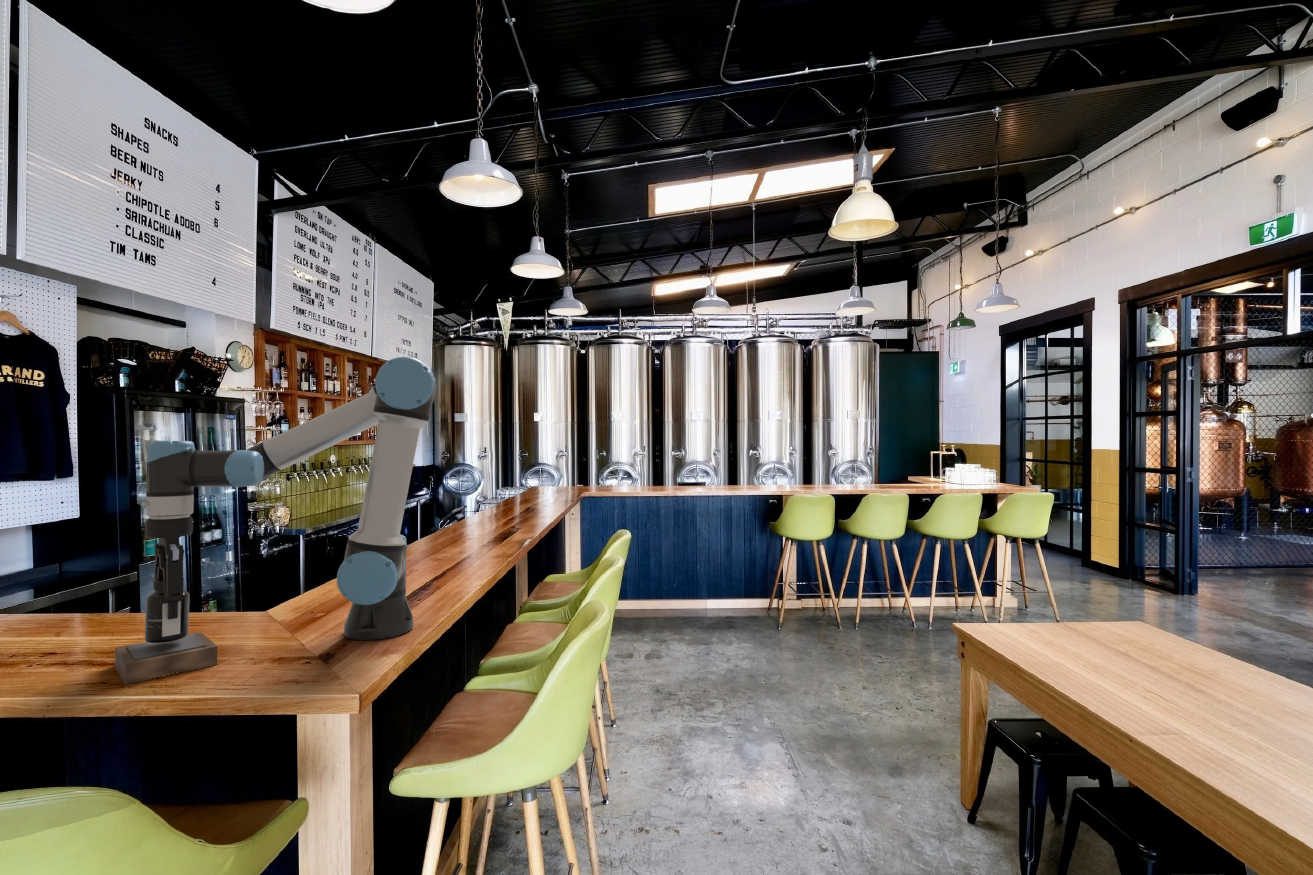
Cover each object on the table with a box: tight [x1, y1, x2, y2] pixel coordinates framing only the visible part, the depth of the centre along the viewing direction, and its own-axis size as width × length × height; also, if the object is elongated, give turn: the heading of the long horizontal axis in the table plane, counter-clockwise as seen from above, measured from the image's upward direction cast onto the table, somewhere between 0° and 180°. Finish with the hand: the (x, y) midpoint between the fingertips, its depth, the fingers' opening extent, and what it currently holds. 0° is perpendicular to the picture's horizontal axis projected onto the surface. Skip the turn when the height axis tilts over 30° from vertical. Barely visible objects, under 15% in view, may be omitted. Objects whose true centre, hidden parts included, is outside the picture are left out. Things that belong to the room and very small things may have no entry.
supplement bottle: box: [144, 576, 190, 643], centre depth 121 cm, size 7×7×12 cm
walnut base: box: [114, 631, 218, 686], centre depth 121 cm, size 14×14×4 cm
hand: (167, 630), depth 121 cm, fingers closed on supplement bottle, 7 cm apart
